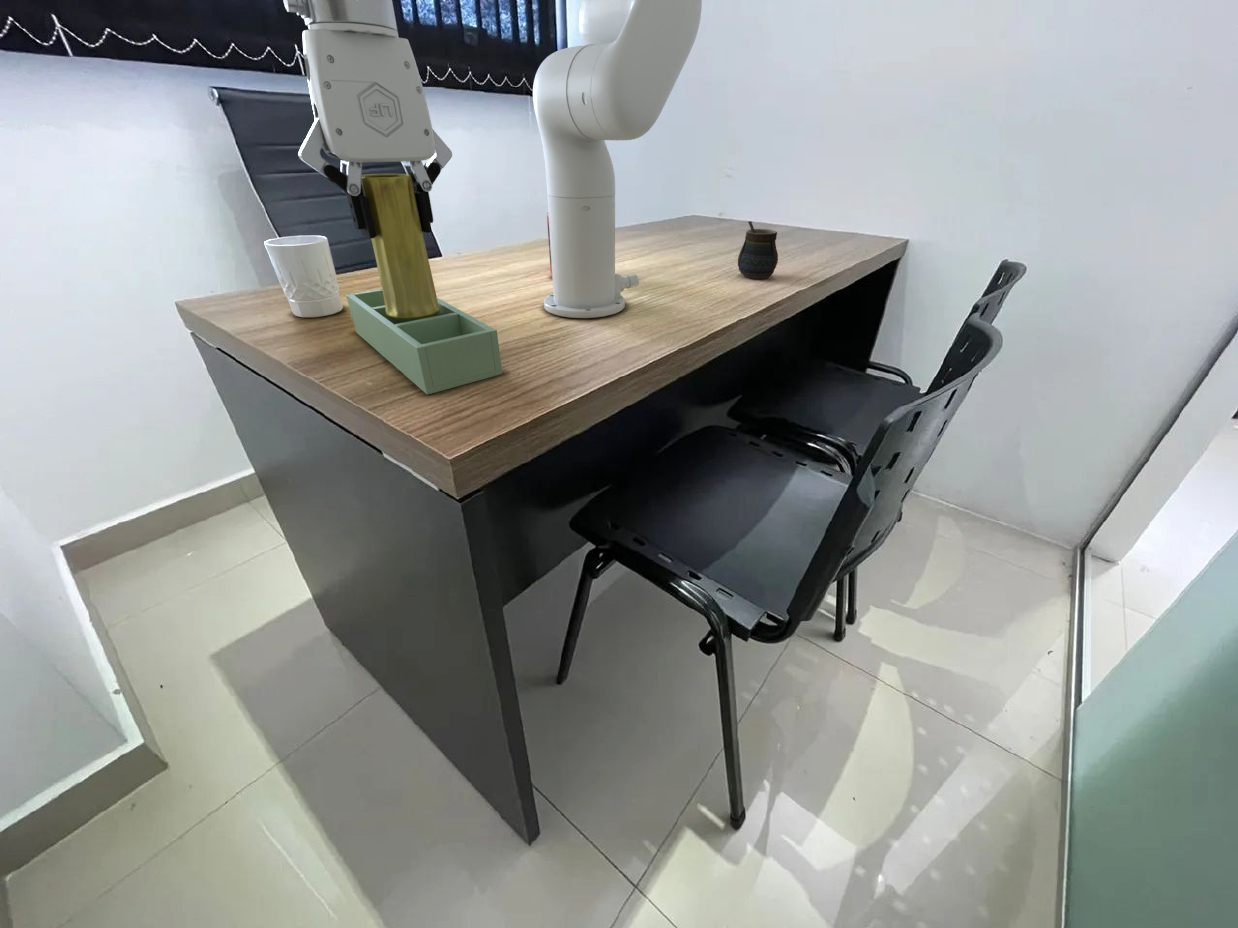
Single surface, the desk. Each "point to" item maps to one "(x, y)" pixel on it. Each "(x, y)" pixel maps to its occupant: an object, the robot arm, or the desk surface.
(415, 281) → the vase
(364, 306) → the compartment tray
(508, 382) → the desk surface
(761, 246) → the mate gourd
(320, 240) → the white cup
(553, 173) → the robot arm
